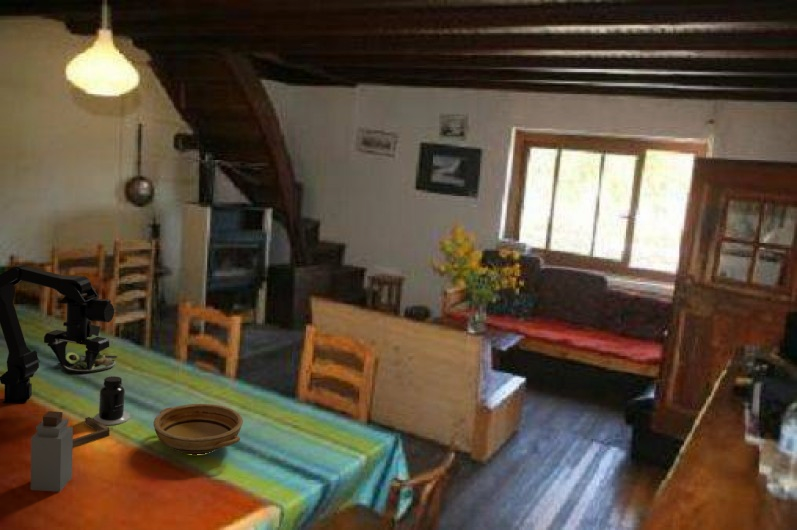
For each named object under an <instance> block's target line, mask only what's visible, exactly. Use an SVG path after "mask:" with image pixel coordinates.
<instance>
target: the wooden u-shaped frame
mask: <svg viewBox="0 0 797 530" xmlns="http://www.w3.org/2000/svg"><path fill="white" fill-rule="evenodd" d="M85 423H86V424H87V426H88V425H89V427H90V428H92V429H94V430H95V429H96V431H95V432H91V433H88V434H85V435H82V436H78V437H75V438H73V448H76V447H79V446H81V445H84V444H88V443H91V442H95V441H96V440H100V439H103V438H106V437H109V436H110V430H111V429H110V427H109V426H108V425H103V424H101V423H99V422H98V421H96V420H94V418H92V417H90V416H86V417H85V418H84V424H85ZM86 424H85V425H86ZM97 430H98V431H97Z"/></svg>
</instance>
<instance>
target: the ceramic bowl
mask: <svg viewBox="0 0 797 530" xmlns="http://www.w3.org/2000/svg"><path fill="white" fill-rule="evenodd" d="M243 423H244V419H243V416H241V414H240V413H239V412H238V411H236V410H234V409H233V408H230V407H226V406H223V405H218V404H210V403H191V404H184V405H178V406H175V407H172V406H171V407H166V408H164V409H162V410H161V411H160V412H159V414H158V415H156V417H155V418H154V420H153V427H154V430H155V431H154V432H155V433H156V436H157V437H158V438H157V439H158V440H159V441H160V443H162V444H163V445H164V446H166V447H167V448H169V449H172V450H173V451H178V452H180V453H181V452H182V453H181V454H183V453H186V454H192V455H197V454H205V453H209V452H212V451H214V450H215V451H218V450H219V449H222V448H225V447H229V446H231V445H234V444H237V443H238V442H240V440H241V437H240V436H238V435H239V433H240V431H241V429H242V426H243ZM215 451H214V452H215ZM212 453H213V452H212ZM186 454H185V455H186ZM209 454H210V453H209ZM192 455H191V456H192Z"/></svg>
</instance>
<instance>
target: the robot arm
mask: <svg viewBox="0 0 797 530" xmlns="http://www.w3.org/2000/svg"><path fill="white" fill-rule="evenodd" d="M22 281H23V282H27V283H30V284H35V285H38V286H43V287H44V288H45V287H46V288H48V289H49V288H50V289H53V290H55V291H57V292H58V293H59V295H62V296H63V298H61V299H60V300H59V303H60V304H66V314H65V315H66V316H65V317H66V321H64V322H63V323H62V324H63V327H66V328H65V329H66V330H59V329H54V330H52V331H49V332H47V333H45V335H44V336H43V343H45V344H47V347H49V348H50V349H51V350H52V352H53V353H54V355H55V357H56V358H57V360H58V361H59V363H60V366H62V365H65V359H66V353H67V352H66V351H67V350H66V348H67V345H68V343H70V344H71V343H72V344H78V345H83V346H85V349H86V350H85V351H84V353H85V354H84V355H86V362H87V368H88V370H91V369H92V366H93V364H94V362H95V359H96V357H97V355H98V353H100V352H101V351H104V350H106V349H108V348H109V347H110V340H109V339H108V338H107V337H101V336H99V334H100V331H101V326H100V325H95V324H94V325H93V324H92V323H91V321H94V322H101V323H111V321H112V320H113V318H114V315H115V308H114V305H113V304H112V303H111V302H112V301H111V299H110V298H109V299H107V298H106V299H105V298H104V299H103V298H100V297H99V295H98V293H97V292H96V289H94V287H93V285H92V283H91V281H90V279H89V277H87V276H85V275H74V274H73V275H70V274H69V275H62V274H58V273H55V272H51V271H47V270H43V269H40V268H35V267H32V266H28V265H27V264H19V265H14V266H11V267H10V268H8V269H7V270H6V271H4V272H2V273H0V328H1V331H2V334H3V338H4V341H5V344H6V348H7V350H8V355H7V359H6V368H7V370H6V371H5V372H4V373H3V374H1V375H0V384H1V385H4V399H3V400H2V403H5V404H6V403H7V404H8V403H9V404H12V403H13V404H25V403H27V402H28V401H29V400H30V398H31V397H32V396H33V393H32V392H33V388H32V387H33V384H32V383H31V379H30V378H33V377H34V375H35V373H36V372H37V371H38V370H39V367H40V362H41V360H40V359H39V357H38V353H37V350H35V349H34V350H31V349H30V348H29V347H28V346H27V344H26V341H25V336H24V334H23V333H24V332H23V330H22V327H21V325H20V321H19V317H18V315H17V311H16V307H15V304H14V300H15V297H16V287H15V286H17V284H19V283H20V282H22ZM93 336H96V337H93ZM92 337H93V338H92Z"/></svg>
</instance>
